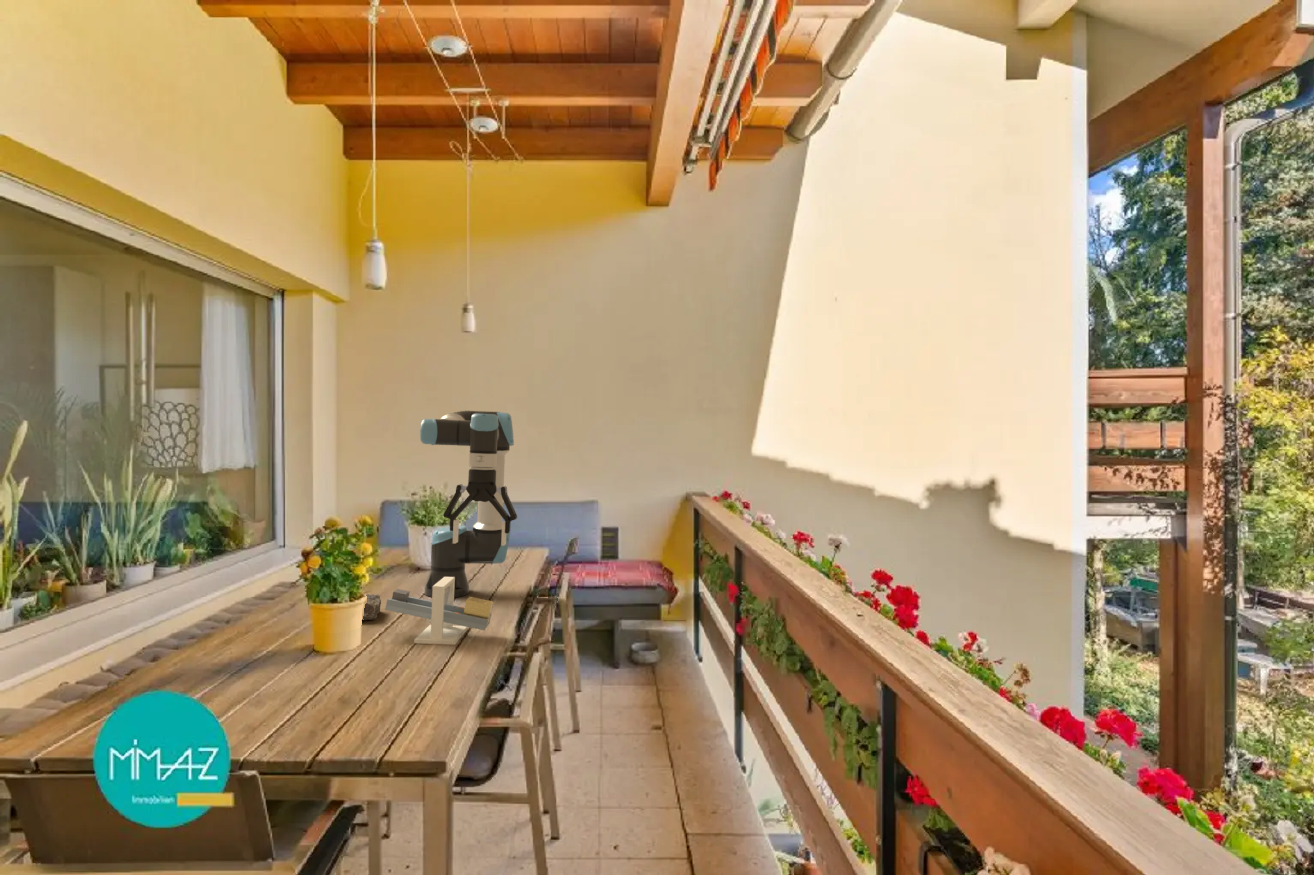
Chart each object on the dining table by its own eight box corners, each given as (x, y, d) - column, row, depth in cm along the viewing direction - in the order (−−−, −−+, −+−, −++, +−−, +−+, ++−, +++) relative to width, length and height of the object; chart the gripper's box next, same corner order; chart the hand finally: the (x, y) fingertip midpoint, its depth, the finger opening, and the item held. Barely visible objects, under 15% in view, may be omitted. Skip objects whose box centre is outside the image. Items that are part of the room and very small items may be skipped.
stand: (429, 628, 201) (431, 575, 200) (467, 629, 201) (469, 576, 201) (414, 643, 187) (416, 586, 186) (455, 644, 187) (457, 588, 187)
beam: (394, 602, 197) (400, 576, 197) (490, 622, 199) (495, 596, 198) (383, 610, 189) (389, 582, 189) (483, 631, 190) (489, 603, 190)
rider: (465, 615, 196) (469, 596, 196) (489, 620, 196) (493, 601, 196) (462, 619, 192) (466, 599, 192) (486, 624, 192) (490, 605, 192)
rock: (346, 610, 216) (329, 625, 201) (346, 590, 216) (329, 604, 201) (388, 609, 218) (374, 624, 203) (388, 589, 217) (374, 603, 202)
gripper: (434, 467, 189) (430, 543, 189) (524, 471, 189) (521, 547, 189) (442, 466, 197) (439, 539, 197) (529, 469, 197) (526, 543, 197)
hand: (479, 543), depth 193 cm, fingers open, 13 cm apart
